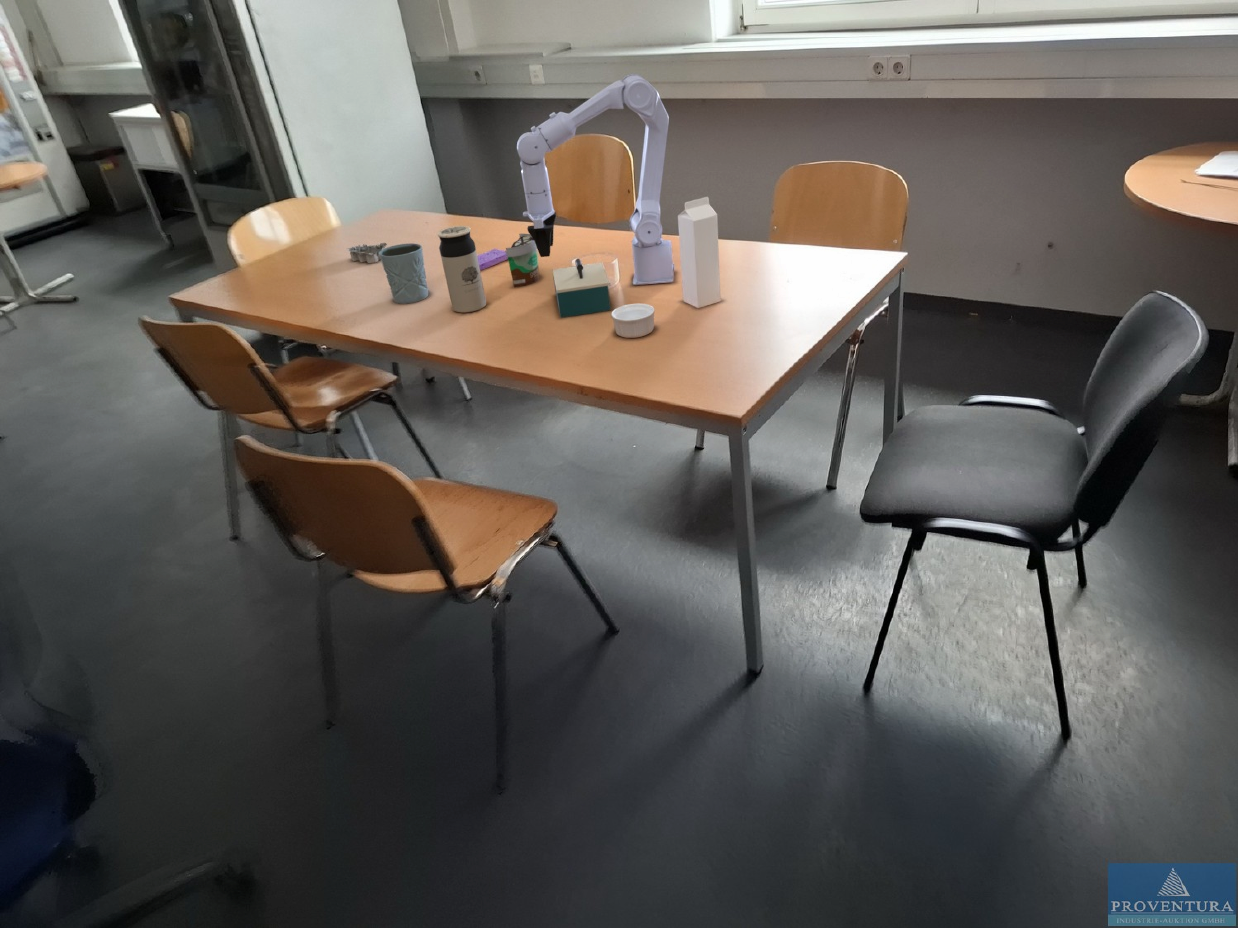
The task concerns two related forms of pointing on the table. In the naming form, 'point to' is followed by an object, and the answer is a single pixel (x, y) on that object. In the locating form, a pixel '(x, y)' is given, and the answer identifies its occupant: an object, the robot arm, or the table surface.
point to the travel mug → (461, 269)
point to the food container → (523, 261)
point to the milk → (699, 253)
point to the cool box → (583, 301)
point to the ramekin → (633, 320)
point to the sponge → (491, 258)
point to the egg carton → (366, 253)
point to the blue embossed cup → (405, 272)
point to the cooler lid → (580, 277)
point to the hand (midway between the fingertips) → (546, 251)
